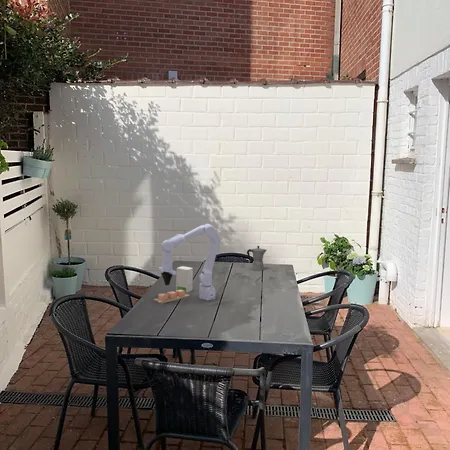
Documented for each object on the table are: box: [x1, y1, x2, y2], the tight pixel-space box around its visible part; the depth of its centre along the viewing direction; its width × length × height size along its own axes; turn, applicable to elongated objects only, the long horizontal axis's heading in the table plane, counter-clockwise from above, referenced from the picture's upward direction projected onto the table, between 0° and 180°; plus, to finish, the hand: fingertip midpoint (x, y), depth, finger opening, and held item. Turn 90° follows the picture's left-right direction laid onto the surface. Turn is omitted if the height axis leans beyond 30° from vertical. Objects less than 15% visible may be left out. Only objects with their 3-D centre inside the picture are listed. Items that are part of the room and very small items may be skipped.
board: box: [153, 293, 191, 304], centre depth 275 cm, size 8×20×2 cm, turn 132°
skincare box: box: [175, 265, 194, 294], centre depth 291 cm, size 8×7×16 cm
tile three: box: [157, 292, 168, 301], centre depth 270 cm, size 4×4×4 cm
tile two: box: [166, 290, 177, 299], centre depth 274 cm, size 4×4×4 cm
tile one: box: [174, 289, 186, 297], centre depth 278 cm, size 4×4×4 cm
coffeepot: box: [246, 245, 267, 272], centre depth 355 cm, size 15×9×18 cm, turn 103°
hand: (167, 285), depth 272 cm, fingers closed
